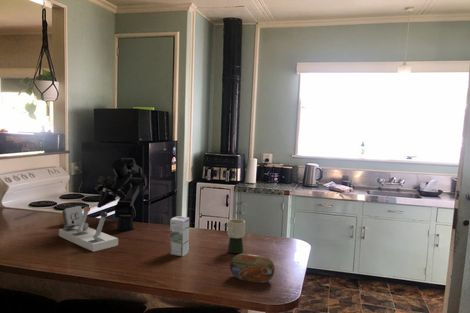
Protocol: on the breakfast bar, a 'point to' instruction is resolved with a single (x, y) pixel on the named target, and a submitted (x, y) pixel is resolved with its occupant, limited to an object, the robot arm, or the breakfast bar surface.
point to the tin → (252, 268)
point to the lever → (100, 226)
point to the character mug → (236, 235)
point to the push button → (85, 226)
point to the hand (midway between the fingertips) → (98, 207)
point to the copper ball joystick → (83, 219)
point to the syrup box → (179, 236)
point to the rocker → (69, 226)
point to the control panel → (88, 238)
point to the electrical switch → (72, 215)
